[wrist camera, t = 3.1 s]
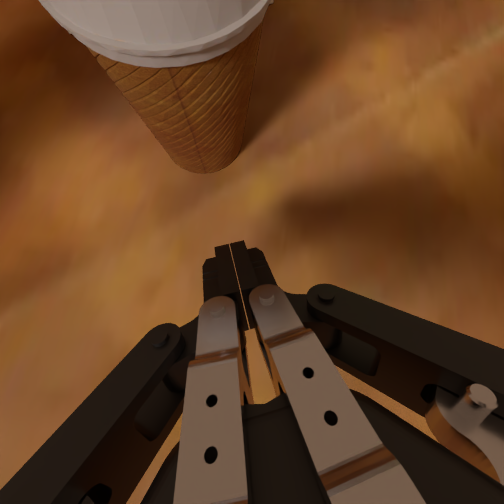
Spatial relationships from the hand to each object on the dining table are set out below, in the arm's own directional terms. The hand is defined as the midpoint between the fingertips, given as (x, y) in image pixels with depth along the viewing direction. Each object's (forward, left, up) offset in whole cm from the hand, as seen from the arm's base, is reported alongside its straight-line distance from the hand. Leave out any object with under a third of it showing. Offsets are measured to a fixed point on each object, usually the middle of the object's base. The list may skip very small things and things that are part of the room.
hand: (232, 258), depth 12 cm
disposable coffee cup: (0, +11, -6) cm, 13 cm away
